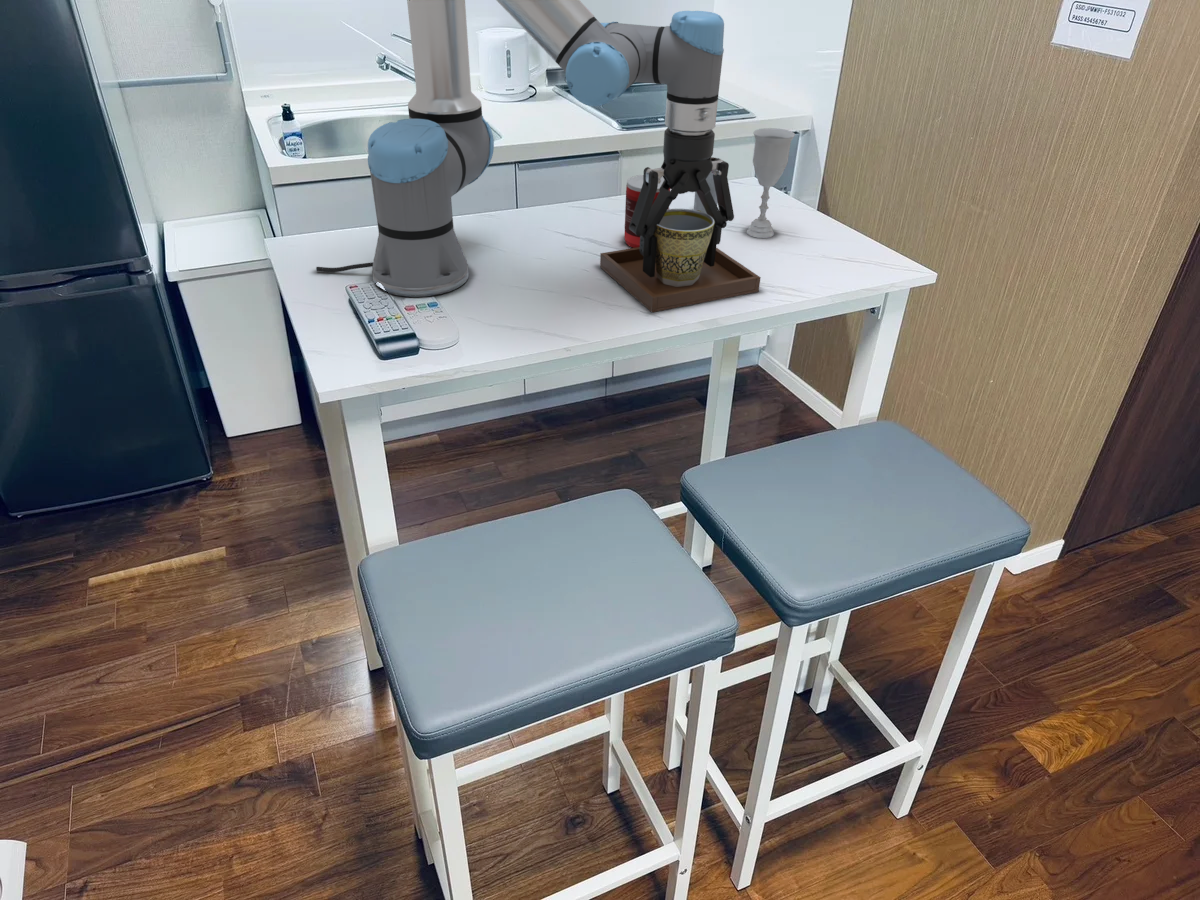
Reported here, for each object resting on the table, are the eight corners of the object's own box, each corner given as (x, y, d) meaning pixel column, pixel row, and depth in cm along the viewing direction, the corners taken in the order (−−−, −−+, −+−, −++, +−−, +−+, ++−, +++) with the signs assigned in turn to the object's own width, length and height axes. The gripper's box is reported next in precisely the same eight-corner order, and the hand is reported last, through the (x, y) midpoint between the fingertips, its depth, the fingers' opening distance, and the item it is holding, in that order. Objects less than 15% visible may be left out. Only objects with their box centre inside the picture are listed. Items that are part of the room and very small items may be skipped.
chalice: (749, 241, 153) (763, 139, 142) (734, 228, 158) (746, 129, 148) (786, 237, 155) (802, 137, 144) (770, 224, 160) (784, 127, 149)
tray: (651, 312, 128) (652, 297, 127) (599, 267, 142) (600, 253, 140) (758, 291, 135) (760, 277, 134) (699, 250, 149) (700, 236, 147)
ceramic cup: (694, 296, 132) (700, 235, 126) (637, 283, 136) (640, 223, 130) (723, 267, 141) (730, 209, 136) (669, 255, 145) (673, 199, 139)
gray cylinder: (704, 208, 167) (709, 155, 161) (721, 214, 164) (727, 161, 158) (688, 212, 164) (693, 159, 158) (704, 219, 161) (710, 165, 155)
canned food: (667, 235, 154) (671, 175, 148) (665, 252, 148) (670, 190, 141) (625, 232, 155) (628, 173, 148) (622, 249, 148) (624, 187, 142)
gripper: (632, 143, 118) (626, 288, 130) (768, 127, 126) (750, 266, 139) (609, 129, 123) (605, 270, 136) (741, 115, 131) (726, 250, 144)
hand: (678, 268), depth 137 cm, fingers closed on ceramic cup, 10 cm apart
